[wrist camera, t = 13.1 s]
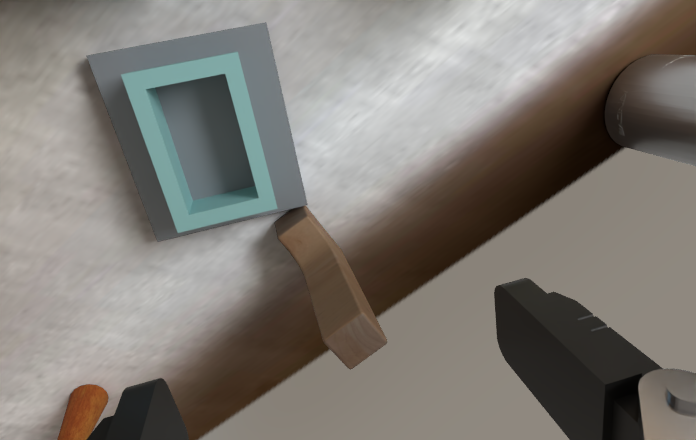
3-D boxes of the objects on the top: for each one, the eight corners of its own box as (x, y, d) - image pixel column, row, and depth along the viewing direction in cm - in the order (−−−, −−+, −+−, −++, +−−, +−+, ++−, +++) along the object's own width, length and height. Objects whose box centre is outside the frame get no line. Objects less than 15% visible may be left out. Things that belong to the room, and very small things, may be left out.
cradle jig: (265, 23, 35) (269, 20, 31) (305, 199, 41) (313, 218, 37) (92, 55, 33) (69, 57, 29) (160, 234, 39) (150, 259, 35)
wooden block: (342, 250, 44) (389, 343, 30) (315, 270, 44) (350, 371, 30) (301, 200, 41) (334, 278, 28) (273, 222, 41) (291, 309, 28)
